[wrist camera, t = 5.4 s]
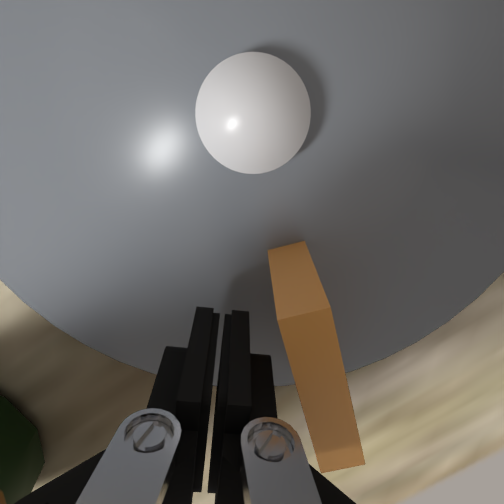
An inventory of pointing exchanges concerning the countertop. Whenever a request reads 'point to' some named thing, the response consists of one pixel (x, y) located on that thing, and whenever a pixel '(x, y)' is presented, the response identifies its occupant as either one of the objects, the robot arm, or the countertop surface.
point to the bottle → (17, 454)
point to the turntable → (254, 178)
